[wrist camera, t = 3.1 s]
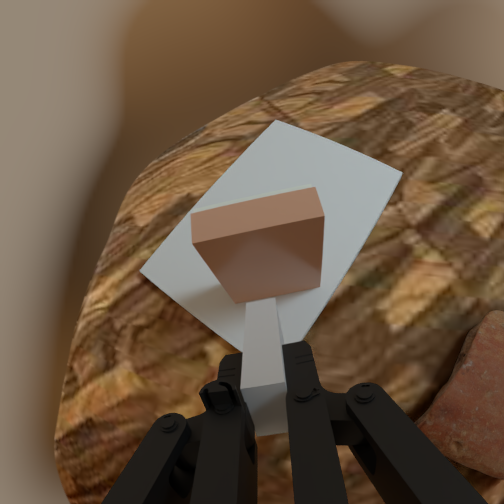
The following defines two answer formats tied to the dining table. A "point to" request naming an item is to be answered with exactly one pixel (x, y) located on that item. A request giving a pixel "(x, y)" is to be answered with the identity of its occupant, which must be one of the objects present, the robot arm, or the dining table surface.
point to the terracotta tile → (263, 242)
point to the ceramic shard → (473, 402)
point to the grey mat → (267, 180)
